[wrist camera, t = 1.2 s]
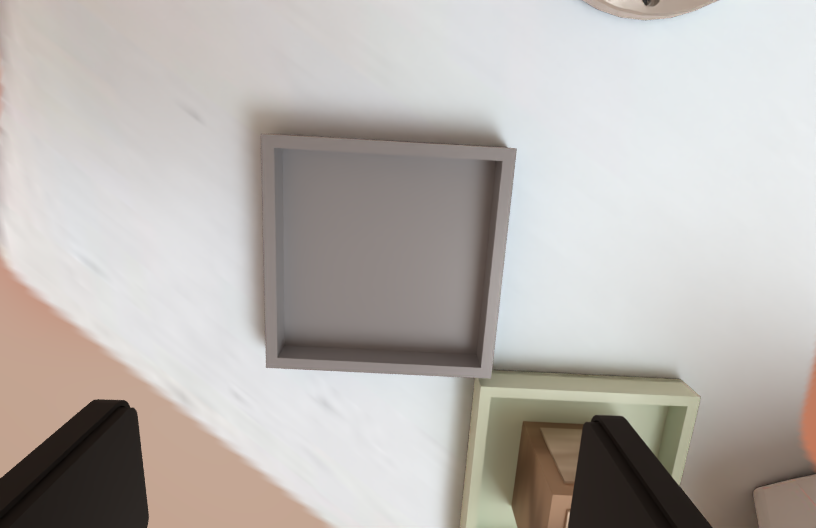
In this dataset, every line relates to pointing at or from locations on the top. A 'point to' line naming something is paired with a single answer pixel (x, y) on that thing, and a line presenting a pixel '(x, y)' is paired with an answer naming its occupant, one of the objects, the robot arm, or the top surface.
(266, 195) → the grey tray
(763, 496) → the electrical switch box
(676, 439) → the green tray
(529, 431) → the letter block
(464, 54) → the top surface
